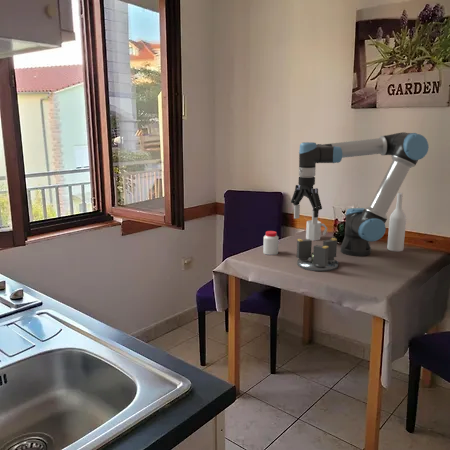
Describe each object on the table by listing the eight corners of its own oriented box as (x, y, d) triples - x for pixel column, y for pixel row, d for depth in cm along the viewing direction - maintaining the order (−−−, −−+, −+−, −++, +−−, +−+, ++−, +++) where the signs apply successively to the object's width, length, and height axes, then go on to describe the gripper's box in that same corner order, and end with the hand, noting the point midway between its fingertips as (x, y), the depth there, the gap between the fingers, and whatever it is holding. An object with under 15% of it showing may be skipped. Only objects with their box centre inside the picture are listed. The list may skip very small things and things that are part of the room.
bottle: (406, 249, 240) (411, 193, 232) (396, 252, 235) (401, 195, 228) (393, 246, 246) (398, 191, 239) (383, 248, 242) (388, 192, 235)
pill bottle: (277, 255, 232) (278, 234, 229) (262, 254, 233) (262, 233, 231) (278, 251, 239) (279, 230, 236) (264, 250, 241) (264, 230, 238)
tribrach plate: (333, 258, 226) (334, 245, 224) (342, 271, 207) (342, 257, 206) (295, 258, 226) (295, 245, 225) (300, 271, 208) (300, 256, 206)
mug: (307, 240, 258) (307, 223, 256) (304, 236, 267) (305, 220, 264) (328, 240, 258) (329, 223, 256) (325, 236, 266) (326, 220, 264)
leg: (311, 265, 210) (312, 245, 208) (317, 263, 213) (317, 243, 211) (323, 268, 206) (324, 247, 204) (328, 266, 209) (329, 245, 207)
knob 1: (308, 256, 223) (308, 237, 221) (311, 259, 219) (312, 239, 216) (295, 257, 221) (296, 238, 219) (299, 260, 217) (300, 240, 215)
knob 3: (327, 261, 216) (328, 241, 214) (321, 258, 220) (321, 239, 218) (337, 259, 219) (338, 239, 217) (331, 256, 223) (332, 237, 221)
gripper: (284, 173, 220) (283, 216, 225) (317, 180, 198) (316, 227, 203) (297, 172, 223) (295, 215, 228) (331, 178, 202) (329, 225, 207)
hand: (305, 221), depth 216 cm, fingers open, 13 cm apart
